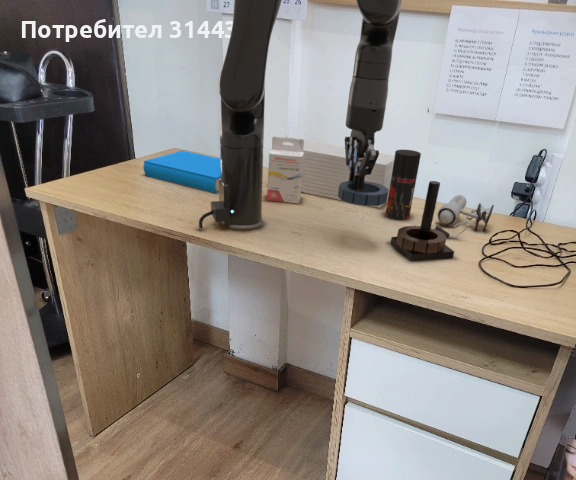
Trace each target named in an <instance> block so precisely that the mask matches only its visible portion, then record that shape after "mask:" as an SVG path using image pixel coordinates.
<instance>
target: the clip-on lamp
mask: <svg viewBox="0 0 576 480" xmlns="http://www.w3.org/2000/svg"><path fill="white" fill-rule="evenodd" d="M467 203H468V202H467V198H466V196H465V195H462V194H457V195H455V196H453V197H452V199H450V200H449V202H448V203H445V204H442V205H441V206H440V208H439V209H438V211H437V219H438V222H439V223H440V224H441V225H443V226H446V227H447V226H452V225H453V227H455V228H456V227H458V226H461V225H464V224H467V225H466V227H465V228H464V229H463V230H462V231H460V232H459V233H458V234H456V235H453V236H452V235H451V233H450V232H448V231H446V230H445V229H443V228H442V227H441V226H439V225H432V228H434V229H436V230H439V231H441V232H442V233H444V234H445V235H446V239H448V238H450V239H451V238H452V239H454V238H456V237H459V236H460V235H462V233H464V232H465V231H466V230H467V229H468V228H469V226H470V224H471V222H470V221H471V220H473V219H475V227H474V231H475V232H476V231H477V230H478V227H479V223H480V222H481V221H483V223H484V226H483V230H482V232H486V228H487V225H488V224H489V221H490V218H491V216H492V213H493V209H494V207H495V205H494V204H492V205H491V206H490V207H487V208H485V207H484V205H482V204H481V203H478V206H477V208H476V209H472V210H471V211H468V210H464V209H465V207H467V206H466V205H467ZM460 214H462V215H463V216H465V218H464V220H463V221H461V222H458V221H459V218H460Z"/></svg>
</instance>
